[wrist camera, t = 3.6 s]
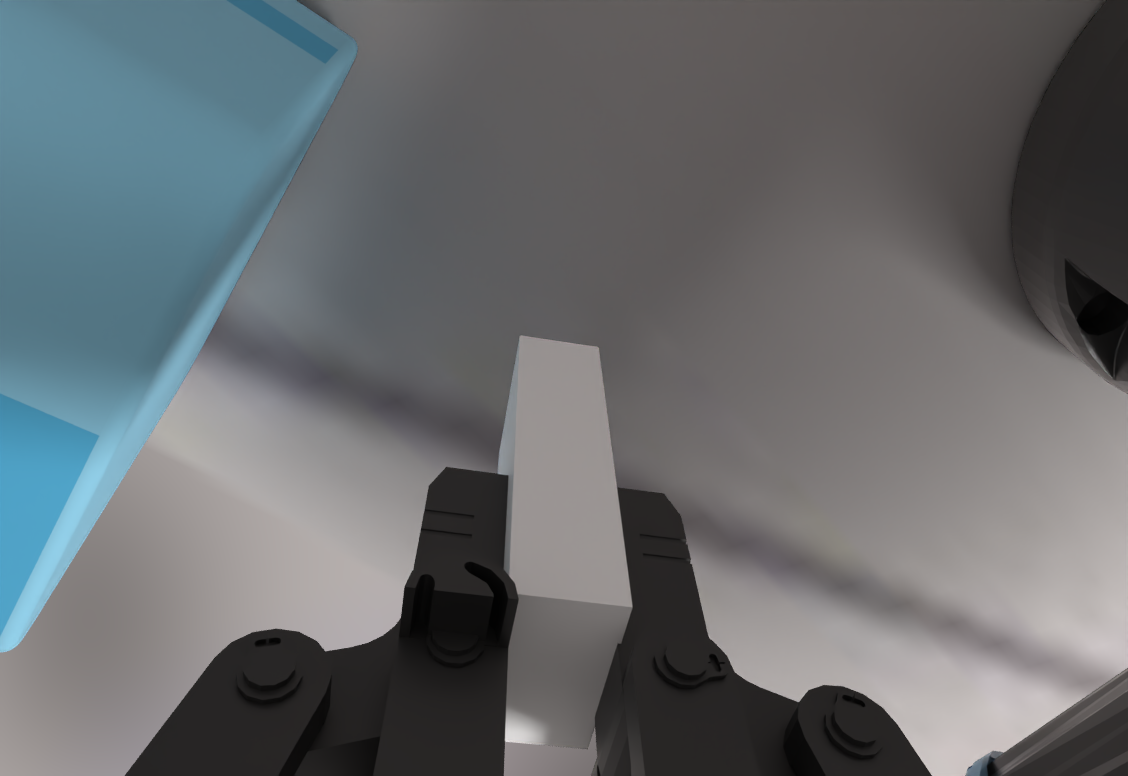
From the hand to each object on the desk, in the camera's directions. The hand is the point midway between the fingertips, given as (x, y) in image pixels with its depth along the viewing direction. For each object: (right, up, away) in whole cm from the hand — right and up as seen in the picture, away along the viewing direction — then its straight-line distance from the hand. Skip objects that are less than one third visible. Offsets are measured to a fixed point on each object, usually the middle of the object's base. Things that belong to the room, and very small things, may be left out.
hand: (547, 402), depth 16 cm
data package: (-10, +6, +7) cm, 14 cm away
